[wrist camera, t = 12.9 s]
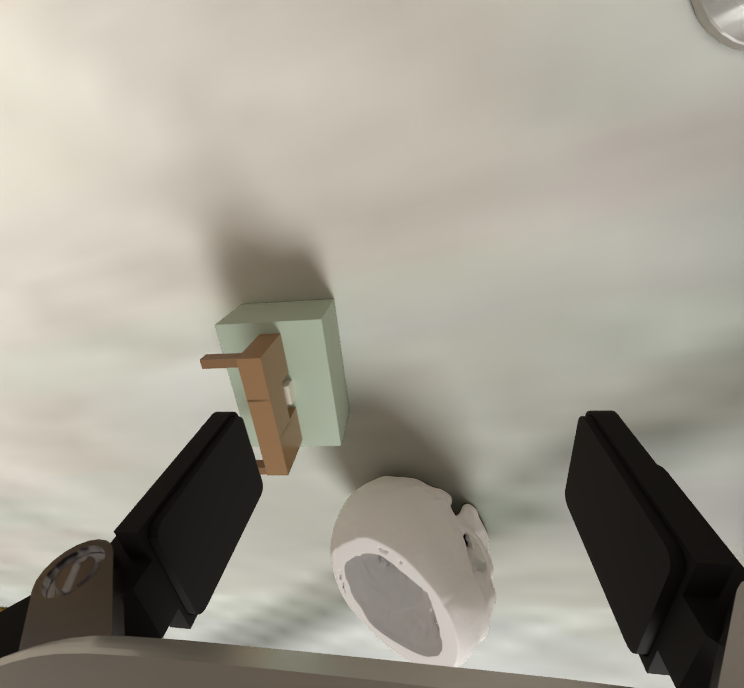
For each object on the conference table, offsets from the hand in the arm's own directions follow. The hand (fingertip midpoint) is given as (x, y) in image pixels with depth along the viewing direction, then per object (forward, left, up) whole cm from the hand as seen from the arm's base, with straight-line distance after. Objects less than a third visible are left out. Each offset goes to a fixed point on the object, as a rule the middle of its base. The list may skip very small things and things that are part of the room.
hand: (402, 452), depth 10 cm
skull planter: (+33, 0, -28) cm, 43 cm away
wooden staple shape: (+11, -14, -21) cm, 28 cm away
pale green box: (+11, -13, -27) cm, 32 cm away
